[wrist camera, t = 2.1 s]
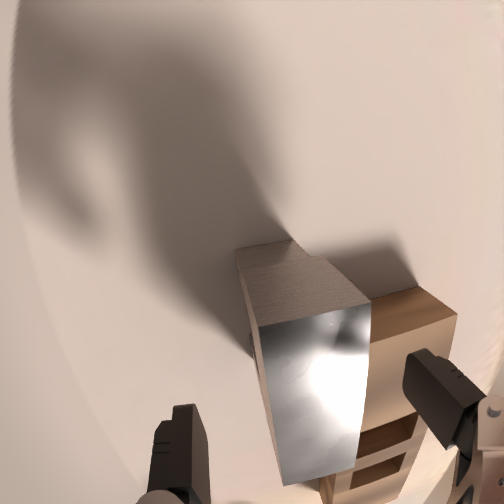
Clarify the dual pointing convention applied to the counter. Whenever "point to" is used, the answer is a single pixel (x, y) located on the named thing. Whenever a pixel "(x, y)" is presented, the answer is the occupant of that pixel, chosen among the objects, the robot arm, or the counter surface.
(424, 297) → the rail
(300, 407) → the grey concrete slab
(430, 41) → the counter surface
